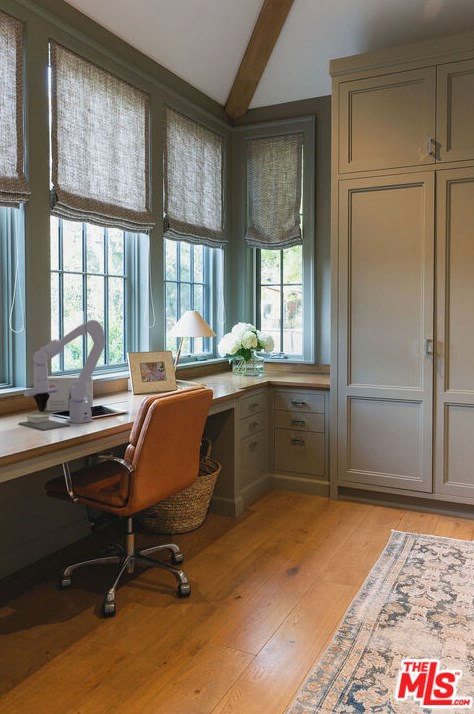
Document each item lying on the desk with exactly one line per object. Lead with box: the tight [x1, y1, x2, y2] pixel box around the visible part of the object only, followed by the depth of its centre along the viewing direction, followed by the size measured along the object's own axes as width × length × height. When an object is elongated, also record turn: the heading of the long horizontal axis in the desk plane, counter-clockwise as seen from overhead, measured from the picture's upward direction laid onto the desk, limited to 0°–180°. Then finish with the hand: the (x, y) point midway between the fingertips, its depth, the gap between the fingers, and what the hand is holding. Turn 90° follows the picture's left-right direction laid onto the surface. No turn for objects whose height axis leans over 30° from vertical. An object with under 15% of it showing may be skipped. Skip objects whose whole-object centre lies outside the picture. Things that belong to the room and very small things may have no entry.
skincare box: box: [46, 375, 94, 412], centre depth 287 cm, size 21×5×16 cm, turn 101°
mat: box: [17, 419, 71, 432], centre depth 249 cm, size 20×12×1 cm, turn 48°
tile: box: [26, 413, 50, 423], centre depth 255 cm, size 7×2×6 cm
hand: (41, 411), depth 254 cm, fingers closed
